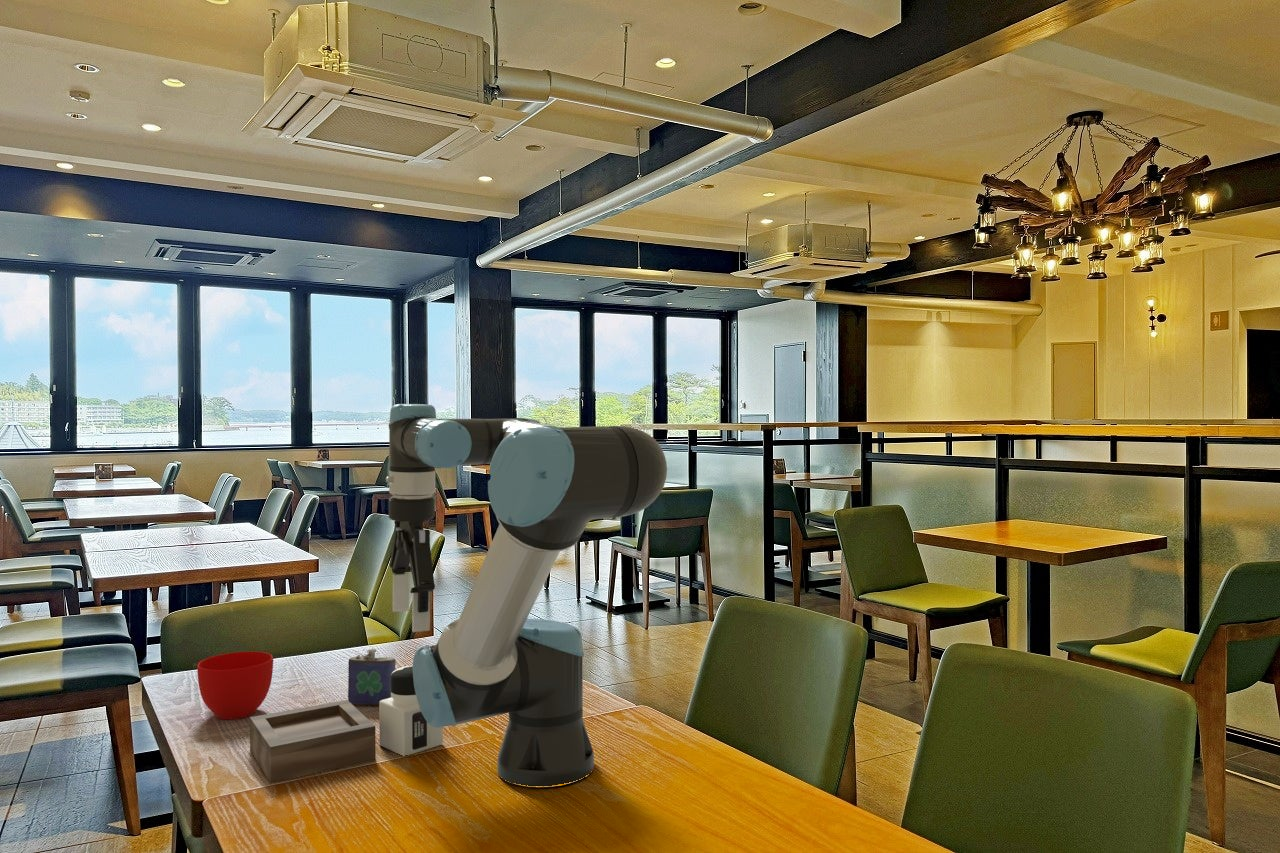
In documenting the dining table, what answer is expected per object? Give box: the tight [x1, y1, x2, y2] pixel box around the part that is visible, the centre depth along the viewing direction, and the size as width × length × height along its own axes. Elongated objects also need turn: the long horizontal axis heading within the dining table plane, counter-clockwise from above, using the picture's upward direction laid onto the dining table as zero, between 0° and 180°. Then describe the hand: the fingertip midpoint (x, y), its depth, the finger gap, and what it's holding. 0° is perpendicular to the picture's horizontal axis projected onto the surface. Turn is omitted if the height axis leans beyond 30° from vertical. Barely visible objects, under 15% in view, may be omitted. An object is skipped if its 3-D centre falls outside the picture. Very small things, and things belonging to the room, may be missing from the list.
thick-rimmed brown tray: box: [249, 699, 377, 784], centre depth 145 cm, size 16×16×6 cm
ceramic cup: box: [196, 650, 274, 720], centre depth 166 cm, size 13×17×10 cm
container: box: [378, 665, 444, 757], centre depth 149 cm, size 8×8×13 cm
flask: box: [347, 648, 397, 708], centre depth 170 cm, size 9×3×11 cm, turn 88°
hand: (410, 620), depth 149 cm, fingers open, 13 cm apart
